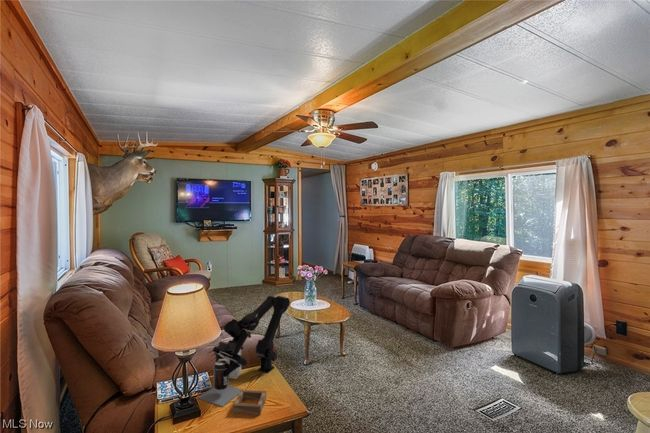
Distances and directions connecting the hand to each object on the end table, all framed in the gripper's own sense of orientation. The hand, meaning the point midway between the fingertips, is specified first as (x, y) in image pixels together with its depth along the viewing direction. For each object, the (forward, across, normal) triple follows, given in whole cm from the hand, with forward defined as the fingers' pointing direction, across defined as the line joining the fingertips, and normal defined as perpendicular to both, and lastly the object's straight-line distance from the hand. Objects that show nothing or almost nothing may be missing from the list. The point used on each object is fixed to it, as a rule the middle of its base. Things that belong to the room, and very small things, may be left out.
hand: (219, 374), depth 155 cm
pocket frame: (+5, +17, +9) cm, 20 cm away
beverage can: (+4, 0, +6) cm, 7 cm away
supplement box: (-4, -10, +18) cm, 21 cm away
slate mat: (+6, 0, +8) cm, 10 cm away
